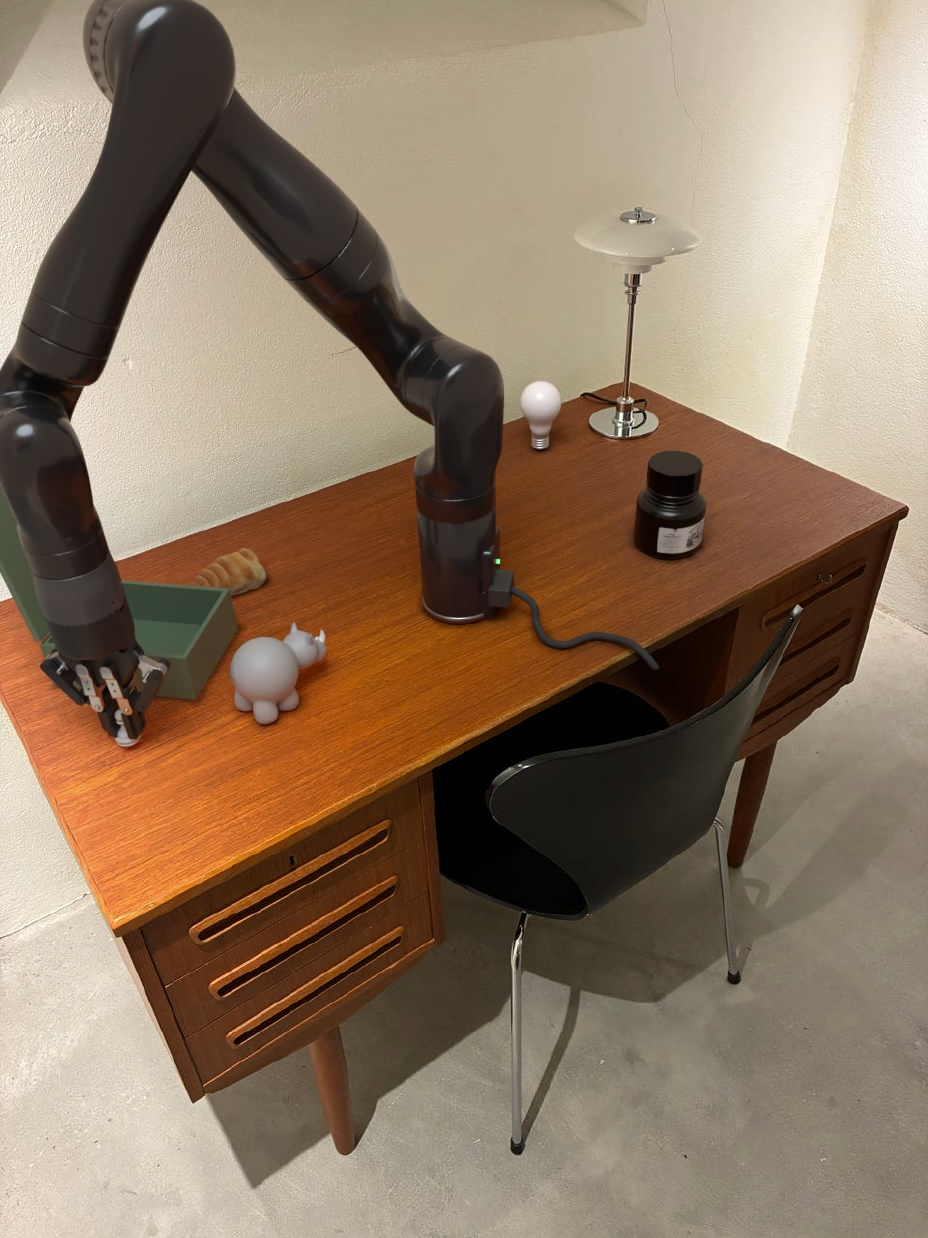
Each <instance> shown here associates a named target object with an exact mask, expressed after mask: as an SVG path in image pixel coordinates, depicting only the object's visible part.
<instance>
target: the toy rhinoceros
mask: <svg viewBox="0 0 928 1238" xmlns="http://www.w3.org/2000/svg"><path fill="white" fill-rule="evenodd" d="M325 642H326V634H325V632H324V631H323V630H322V629H320V633H319V636H315V637H314V636H313V634H312V633H308V632H306V631H305V630H299V629H298V627H297V623H296V622H292V623H291V625H290V632H289V633H288V635H287V634H286V636H285V638H284V639H283V641H282V640H279V639H278V638H275V637H271V636H259V637H258V636H257V637H255V638H252V639H250V640H248V641H246V642H244V643H243V644H242V645H240V647H239V648H238V649H237V650H236V651H235V653H234V654H233V656H232V659H231V662H230V668H229V673H230V679H231V683H232V685H233V687H234V689H235V692H234V695H233V703H234V706H235V708H236V709H237V710H238V711H241V712H251V711H252V712H253V716H254V719H255V721H256V722H257V723H258V724H259V725H268V724H273V723H274V722H275V721H276V720H277V719H278V717H279V711H284V712H287V711H293V710H294V709H296V708H297V707H298V705H299V703H300V702H299V701H300V696H299V693H298V691H297V689H296V688H295V686H296V685H297V683H298V678H299V674H300V673H299V671H300V670H304V669H307V668H310V667H311V666H313V665H314V664H316V663H320V662H321V661H322V660H324V658H325V656H326V653H327V646H326V645H325Z"/></svg>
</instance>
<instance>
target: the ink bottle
mask: <svg viewBox="0 0 928 1238" xmlns="http://www.w3.org/2000/svg"><path fill="white" fill-rule="evenodd" d="M703 467H704V464H703V462H702V460H701V458H700V457H698V456H697V455H695V454H693V453H690V452H688V451H683V450H682V451H681V450H664V451H659V452H656V453H654V454H652V455H651V456H650V457H649V459H648V461H647V469H646V470H647V472H646V481H645V482H646V484H645V486H646V488H644V489H643V490H642V491H641V492H640V493H639V494H638V496H637V498H636V503H635V515H634V528H633V542H634V545H635V546H636V547H637V548H638V549H639V550H640V551H641V552H643V553H645V554H647V555H650V556H652V557H654V558H658V559H665V560H679V559H683V558H686V557H689V556H691V555H693V554H694V553H696V552H697V551H699V549H700V547H701V545H702V541H703V533H704V526H705V519H706V518H705V517H706V510H707V501H706V499H705V497H704V496H703V494H702V493H701V492H700V490H701V484H702V475H703Z"/></svg>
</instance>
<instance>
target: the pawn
mask: <svg viewBox="0 0 928 1238" xmlns="http://www.w3.org/2000/svg"><path fill="white" fill-rule="evenodd" d="M121 713H122V712H121V710H120V709H119V710H117V711H116V713H115V718H116V722H117V724H119V725H121V728H120V729H119V731H118V736H117V737H114V740H115V742H116V744H117V745H118V746H120V747H123V748H128V747H132V746H134V745H136V744H137V743H139V741H140V740H141V737H142V734H141V735H139V737H138V738H137V739H129V738H128V735H127V732H126V729H125V726H124V723H123V720H122V717H121Z"/></svg>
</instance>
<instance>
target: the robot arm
mask: <svg viewBox="0 0 928 1238" xmlns="http://www.w3.org/2000/svg"><path fill="white" fill-rule="evenodd" d="M82 48H83V53H84V58H85V61H86V64H87V68H88V70H89V73H90V75H91V77H92V79H93V81H94V83H95V84H96V86H97V87H98V89H99V91H100V92H101V94H102V95H103V96H104V97H105V98H106V100H107V101H108V102H109V103H110V104H111V109H110V115H109V120H108V126H107V131H106V134H105V138H104V141H103V145H102V148H101V152H100V154H99V158H98V160H97V163H96V165H95V168H94V169H93V172H92V175H91V177H90V179H89V181H88V183H87V185H86V187H85V189H84V191H83V193H82V195H80V198H79V199H78V201H77V203H76V204H75V206H74V207H73V209H72V210H71V212H70V213H69V214H68V216H67V218H66V219H65V221H64V223H62V225H61V227H60V228H59V230H58V232H57V233H56V235H55V236H54V238H53V240H52V241H51V243H50V245H49V247H48V248H47V250H46V252H45V254H44V256H43V259H42V261H41V263H40V265H39V268H38V270H37V273H36V276H35V278H34V281H33V284H32V287H31V289H30V293H29V296H28V298H27V302H26V306H25V308H24V310H23V314H22V317H21V321H20V324H19V328H18V331H17V335H16V339H15V343H14V345H13V347H12V348H11V349H10V351H9V353H8V354H7V356H6V357H5V359H4V362H3V364H2V365H1V367H0V485H1V487H2V489H3V492H4V494H5V497H6V499H7V501H8V504H9V506H10V508H11V510H12V512H13V515H14V517H15V519H16V527H17V532H18V536H19V539H20V542H21V545H22V548H23V551H24V554H25V556H26V559H27V562H28V565H29V568H30V570H31V573H32V578H33V584H34V589H35V592H36V595H37V598H38V601H39V604H40V607H41V609H42V612H43V615H44V618H45V620H46V623H47V626H48V628H49V631H50V632H49V633H50V634H51V637H52V639H53V642H54V645H55V647H56V648H55V649H53V650H52V651H51V652H50V653H49V655H48V656H47V657H46V658H45V659H43V660H42V662H41V663H40V665H39V668H40V670H41V671H42V672H43V673H44V674H45V675H46V676H47V677H48V678H49V679H50V681H52V683H53V684H54V683H55V684H56V685H57V686H56V687H58V688H59V689H60V690H61V691H62V692H63V693H65V694H66V696H67V697H68V698H69V699H70V700H72V702H73V703H74V704H75V705H77V706H80V707H83V706H85V705H88V706H91V709H92V710H93V711H95V712H96V714H97V716H98V719H99V722H100V725H101V727H102V730H104V732H105V733H107V735H108V737H109V738H115V737H117V736H118V731H119V729H120V728H121V725H119V724H117V722H116V718H115V713H116V711H117V710H119V709H120V710H121V712H122V713H121V717H122V720H123V723H124V726H125V729H126V732H127V735H128V738H129V739H137V738H138V737H139V735H141V736H142V733H143V732H144V730H145V728H146V727H147V723H148V721H147V719H146V716H145V713H146V712H147V711H148V709H150V705H151V703H152V702H153V701H154V699H155V698H156V697H157V696H156V695H157V693H158V691H159V689H160V687H161V685H162V683H163V680H164V678H165V676H166V674H167V672H168V670H169V668H170V665H171V664H170V662H169V661H168V660H167V659H160V660H159V661H158V662H156V661H154V660H152V659H150V658H148V657H146V656H144V650H143V648H142V647H141V646H140V645H139V644H138V642H137V641H136V639H135V625H134V621H133V618H132V614H131V611H130V608H129V604H128V601H127V597H126V594H125V591H124V587H123V584H122V581H121V580H122V578H121V575H120V571H119V569H118V566H117V563H116V561H115V560H114V557H113V555H112V553H111V549H110V548H109V544H108V541H107V538H106V535H105V531H104V527H103V524H102V521H101V518H100V515H99V513H98V511H97V508H96V506H95V504H94V497H93V491H92V483H91V479H90V475H89V474H90V473H89V470H88V465H87V462H86V458H85V454H84V451H83V448H82V444H81V441H80V438H79V437H78V434H77V433H76V431H75V429H74V427H73V425H72V419H73V415H74V412H75V409H76V406H77V405H78V402H79V400H80V398H81V396H82V393H83V392H84V389H85V387H90V386H92V385H94V384H96V383H97V382H98V381H99V379H100V378H101V376H102V375H103V373H104V371H105V369H106V366H107V364H108V361H109V359H110V356H111V353H112V350H113V348H114V345H115V342H116V339H117V337H118V334H119V332H120V329H121V326H122V323H123V321H124V318H125V315H126V313H127V309H128V306H129V304H130V302H131V298H132V296H133V293H134V291H135V288H136V287H137V284H138V280H139V279H140V276H141V273H142V271H143V268H144V266H145V263H146V262H147V259H148V257H149V256H150V255H149V254H150V252H151V250H152V248H153V246H154V243H155V242H156V240H157V238H158V236H159V234H160V232H161V230H162V227H163V226H164V223H165V221H166V219H167V217H168V216H169V213H170V212H171V210H172V209H173V206H174V204H175V202H176V200H177V198H178V196H179V195H180V193H181V191H182V189H183V187H184V185H185V183H186V182H187V180H188V177H189V176H190V174H191V173H192V174H193V175H194V176H195V177H196V178H197V179H198V181H200V182H201V183H202V184H203V186H204V187H205V188H206V189H207V190H208V191H209V193H210V194H211V195H212V196H213V198H214V199H215V200H216V201H217V203H218V204H219V205H220V206H221V208H222V209H223V210H224V211H225V212H226V214H227V215H228V216H229V218H230V219H231V220H232V221H233V222H234V224H235V225H236V226H237V227H238V228H239V230H240V231H241V232H242V234H244V236H245V237H246V238H247V239H248V241H249V242H250V243H251V244H252V245H253V246H254V248H256V249H257V251H258V252H259V253H260V254H261V256H263V258H264V259H265V260H266V261H267V262H268V263H269V264H270V266H271V267H272V268H273V269H274V270H275V271H276V272H277V273H278V275H279V276H280V277H281V278H282V279H283V280H284V281H285V282H286V283H287V284H288V285H289V286H290V288H292V289H293V290H294V291H295V292H296V293H297V294H298V295H299V296H300V297H301V298H302V299H303V300H304V301H305V303H306V304H308V305H309V306H310V307H311V308H312V309H313V310H314V311H315V312H317V313H318V314H319V316H321V317H322V318H323V319H324V320H325V321H326V322H327V323H328V324H330V326H332V328H334V329H335V330H336V331H337V332H338V333H339V334H341V336H343V337H344V338H346V339H347V340H348V341H349V342H350V343H352V345H354V346H355V347H356V348H357V349H358V350H359V351H360V353H362V355H363V356H364V357H365V358H366V359H367V361H368V362H369V364H370V365H371V366H372V367H373V369H374V371H376V373H377V374H378V376H379V377H380V378H381V380H382V381H383V382H384V384H385V385H386V386H387V388H388V389H389V390H390V392H391V393H392V394H393V395H394V397H395V398H396V399H397V401H398V402H399V403H400V405H401V406H402V407H403V408H404V409H406V411H407V412H409V413H410V414H411V415H413V416H414V417H416V418H418V419H419V420H421V421H423V422H425V423H427V424H428V425H430V426H433V430H434V431H433V432H434V444H433V445H431V446H428V447H426V448H424V449H423V450H422V451H420V452H419V454H417V456H416V458H415V460H414V464H413V476H414V490H415V503H416V518H417V531H418V532H417V533H418V546H419V558H420V559H419V561H420V572H421V574H420V575H421V586H422V587H421V590H422V591H421V593H422V596H421V597H422V606H423V607H422V608H423V609H424V611H425V612H426V613H427V614H428V616H430V617H431V618H433V619H435V620H437V621H439V622H442V623H447V624H454V625H464V624H465V625H466V624H471V623H476V622H479V621H481V620H485V619H486V620H487V619H488V620H494V617H495V614H496V610H497V608H510V605H511V601H512V597H513V596H515V597H516V598H518V599H520V600H521V601H523V602H524V603H526V605H528V606H529V608H530V610H531V621H532V625H533V627H534V629H535V632H536V635H537V636H538V638H539V640H540V641H541V642H542V643H543V644H545V645H546V646H549V647H552V648H555V649H570V648H574V647H577V646H578V645H580V644H583V643H585V642H589V641H592V640H601V641H609V642H613V643H618V644H621V645H623V646H626V647H628V648H629V649H631V650H632V651H634V652H635V653H636V654H637V655H639V657H640V658H642V660H643V661H644V662H645V663H646V664H647V665H648V667H649V668H650V669H652V670H658V669H660V666H659V664H658V662H657V661H656V660H655V659H654V657H653V656H652V655H651V654H650V653H649V652H648V651H647V650H646V649H645V648H643V646H641V644H639V643H637V642H636V641H634V640H632V639H631V638H629V637H627V636H623V635H620V634H615V633H610V632H603V631H590V632H586V633H583V634H580V635H578V636H576V637H573V638H571V639H567V640H557V639H554V638H551V637H549V636H548V635H547V634H546V632H545V630H544V628H543V625H542V622H541V620H540V607H539V605H538V603H537V602H536V600H535V599H534V598H532V597H531V595H529V594H528V593H526V592H524V591H523V590H521V589H519V588H517V587H516V586H515V571H514V570H511V569H510V570H509V569H501V539H500V538H501V534H500V532H501V530H500V528H499V526H497V498H496V497H497V494H496V493H497V491H496V490H497V489H496V488H497V487H496V470H497V467H498V464H499V463H500V459H501V456H502V451H503V440H504V439H503V438H504V435H503V434H504V418H505V417H504V415H505V384H504V378H503V377H504V376H503V373H502V370H501V369H500V366H499V364H498V362H497V361H496V360H495V359H494V358H493V357H492V356H491V355H489V354H487V353H485V352H484V351H482V350H480V349H477V348H475V347H473V346H470V345H468V344H465V343H464V342H461V341H459V340H457V339H455V338H452V337H451V336H448V334H447V335H446V334H445V333H443V332H442V331H441V330H440V329H438V328H437V327H436V326H434V325H433V324H432V323H431V322H430V321H429V319H427V318H426V317H425V316H424V315H423V314H422V313H421V312H420V311H419V310H418V309H417V308H416V306H414V305H413V304H412V302H410V300H409V299H408V297H407V296H406V294H405V293H404V292H403V289H402V287H401V284H400V282H399V278H398V274H397V271H396V268H395V264H394V261H393V258H392V255H391V253H390V251H389V248H388V247H387V245H386V243H385V241H384V240H383V238H382V237H381V236H380V234H379V232H377V230H376V228H375V227H374V226H373V225H372V224H371V222H370V221H369V220H368V219H367V217H366V216H365V215H364V214H363V212H362V211H361V210H360V209H359V208H358V206H357V205H356V204H355V203H354V202H353V200H352V199H351V198H350V197H349V196H348V195H347V194H346V193H345V191H343V189H341V187H340V186H339V185H338V184H337V183H336V182H335V181H333V179H331V178H330V176H328V175H327V174H326V173H324V171H323V170H322V169H321V168H319V167H318V166H317V165H316V164H315V163H314V162H312V161H311V160H310V159H309V158H308V157H307V156H306V155H305V154H303V153H302V152H301V151H300V150H298V148H296V147H295V146H294V145H293V144H291V143H290V142H289V141H288V140H287V139H285V138H284V137H283V136H282V135H281V134H279V133H278V132H277V131H276V130H274V129H273V128H272V127H271V126H270V125H269V124H268V123H267V122H265V120H263V118H262V117H260V116H259V114H258V113H257V112H256V111H255V110H254V109H253V108H252V107H251V105H250V104H249V103H248V102H247V101H246V100H245V98H244V97H243V96H242V94H241V93H240V92H239V91H238V89H237V88H236V87H235V83H236V78H237V61H236V55H235V50H234V46H233V44H232V41H231V38H230V35H229V33H228V31H227V30H226V29H225V27H224V24H223V23H222V22H221V21H220V20H219V18H217V17H216V15H215V13H213V12H212V11H211V9H209V8H208V7H206V6H205V5H203V4H201V3H200V2H197V1H195V0H93V1H92V2H91V3H90V5H89V7H88V8H87V12H86V14H85V17H84V20H83V25H82ZM138 667H139V668H140V669H141V671H142V677H143V679H142V681H143V682H144V683H145V686H144V688H143V690H142V692H141V691H140V689H139V686H138V674H137V672H136V670H137V668H138ZM74 681H75V682H76V683H77V684H78V685H79V686H80V687H81V689H79V688H76V687H75V686H74V685H73V682H74Z"/></svg>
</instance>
